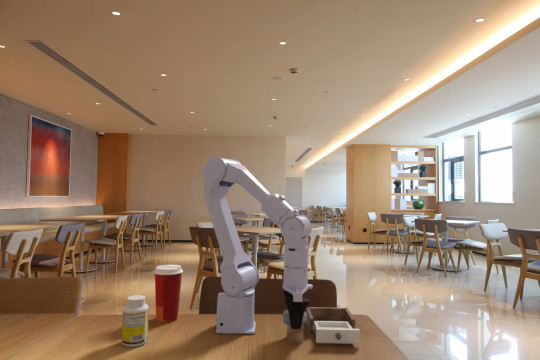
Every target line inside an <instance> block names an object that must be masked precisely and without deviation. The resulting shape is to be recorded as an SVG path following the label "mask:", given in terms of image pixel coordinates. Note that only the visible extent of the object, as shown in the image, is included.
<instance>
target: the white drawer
mask: <svg viewBox="0 0 540 360" xmlns="http://www.w3.org/2000/svg"><path fill="white" fill-rule="evenodd" d="M314 330H315V333H316V335H315V342H316V344H356V345H357V344H359V345H360V342H361V341H360V340H361V339H360V338H361V337H360V336H361V335H360V334H361V330H360V328H355V329H353V328H352V327H351V325H350V324H349V322H348V321H314Z"/></svg>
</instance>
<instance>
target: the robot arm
mask: <svg viewBox="0 0 540 360" xmlns="http://www.w3.org/2000/svg"><path fill="white" fill-rule="evenodd" d="M201 173H202V176H203V198H204V199H203V200H204V201H205V203H206V204H205V205H206V207H207V211H208V214H209V217H210V220H211V223H212V226H213V229H214V230H213V231H214V233H215V236H216V239H217V242H218V243H217V244H218V245H219V246H218V247H219V248H220V253H221V255H222V258H223V259H222V263H221V264H220V267H219V271H220V274H221V275H220V276H221V279H220V284H221V287H222V290H223V291H224V292H219V293H218V294H217V301H216V317H215V318H216V319H215V321H216V322H215V323H216V327H215V329H216V330H215V333H216V334H243V335H246V334H247V335H248V334H251V335H253V334H255V333H256V326H257V325H256V320H255V289H256V288H255V287H256V286H257V285H258V283H259V280H260V273H259V269H258V268H257V267H256V266H255V265H254V263H253V261H252V258H251V256H249V255H248V254H246V253H245V252H244V249H243V245H242V243H241V239H240V236H239V234H238V230H237V228H236V224H235V221H234V218H233V215H232V212H231V210H230V206H229V202H228V201H227V195H228V192H229V191H230V190H231V188H232V187H234V185H239V186H240V187H242V188H243V189H244V190H245V191H246V192H247V193H249V195H251V196H252V197H253V198H254V199H255V200H257V201H258V203H260V207H261V211H262V212H263V214H265V215H266V216H267V218H269V219H270V220H271V221H272V223H274V224H275V225H276V226H277V227H278V228H279V229H280V233H281V236H282V237H283V239H284V247H283V248H284V250H283V283H282V293H283V295H284V297H283V299H284V303H285V305H286V308H287V310H288V311H289V319H290V325H291V329H300V328H301V325H302V320H303V315H304V312H306V307H308V305H309V304H310V303H309V302H310V300H309V298H304V296H305V295H306V292H307V291H308V290H312V289H313V287H314V285H313V284H311V283H308V279H309V278H308V277H309V276H308V275H309V271H308V270H309V236H310V234H311V233H312V230H313V229H312V228H313V226H312V222H311V220H310V219H309V218H308V216H307V215H304V214H299V213H300V211H299V210H298V209H297V208H293V206H291V205H290V204H289V203H288V202H287V201H286V199H287V198H286V197H285V196H284V195H282V194H278V193H272V194H271V193H270V192H269V190H267V188H265V186H263V184H261V182H260V181H259V180H258V179H256V177H255V176H254V175H253V174H252V173H251V172H250V171H249V170H248V169H247V167H246V166H245V165H243V164H241V163H240V161H239V160H237V159H234V158H233V159H229V158H225V157H220V156H216V155H214V156H211V157H209V158H208V159H207V160H206V162H205V164H204V165H203V168H202V170H201Z"/></svg>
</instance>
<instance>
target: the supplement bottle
mask: <svg viewBox="0 0 540 360" xmlns="http://www.w3.org/2000/svg"><path fill="white" fill-rule="evenodd" d="M121 321H122V326H121V327H122V328H121V331H122V332H121V343H122V345H123V346H124V347H128V348H133V347H134V348H135V347H140V346H143V345H144V344H146V343H147V342H148V340H149V305H148V304H147V303H146V296H145V295H142V294H141V295H140V294H135V295H130V296H127V298H126V305H124V306H123V308H122V320H121Z"/></svg>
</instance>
